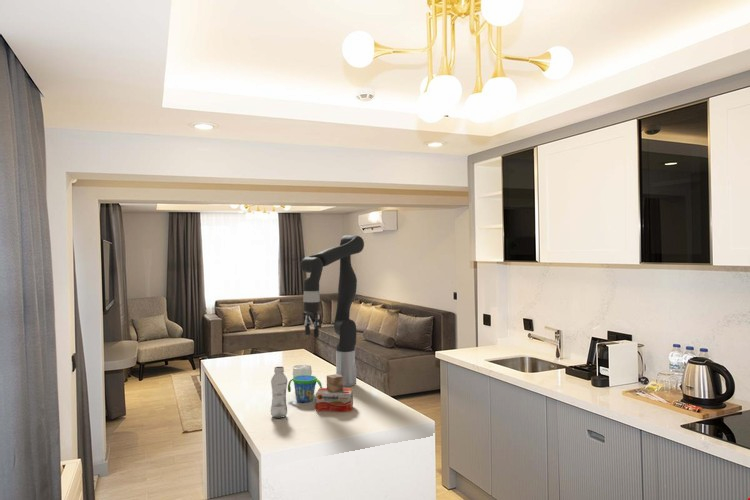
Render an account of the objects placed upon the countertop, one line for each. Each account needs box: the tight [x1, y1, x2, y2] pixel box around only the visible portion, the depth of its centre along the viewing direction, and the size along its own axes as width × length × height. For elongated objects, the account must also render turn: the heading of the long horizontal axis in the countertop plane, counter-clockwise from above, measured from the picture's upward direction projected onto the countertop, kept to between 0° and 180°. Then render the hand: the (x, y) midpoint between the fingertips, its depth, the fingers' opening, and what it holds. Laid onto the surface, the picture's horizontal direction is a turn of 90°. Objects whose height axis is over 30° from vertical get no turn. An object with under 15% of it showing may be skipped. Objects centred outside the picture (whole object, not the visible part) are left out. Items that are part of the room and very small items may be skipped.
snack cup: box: [287, 375, 323, 403], centre depth 230 cm, size 16×10×10 cm
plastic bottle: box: [270, 366, 288, 419], centre depth 207 cm, size 6×7×20 cm
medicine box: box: [314, 387, 354, 413], centre depth 217 cm, size 15×8×8 cm, turn 86°
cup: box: [292, 364, 313, 388], centre depth 243 cm, size 9×9×12 cm
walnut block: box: [326, 373, 344, 392], centre depth 218 cm, size 5×5×6 cm
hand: (311, 335), depth 235 cm, fingers open, 8 cm apart
